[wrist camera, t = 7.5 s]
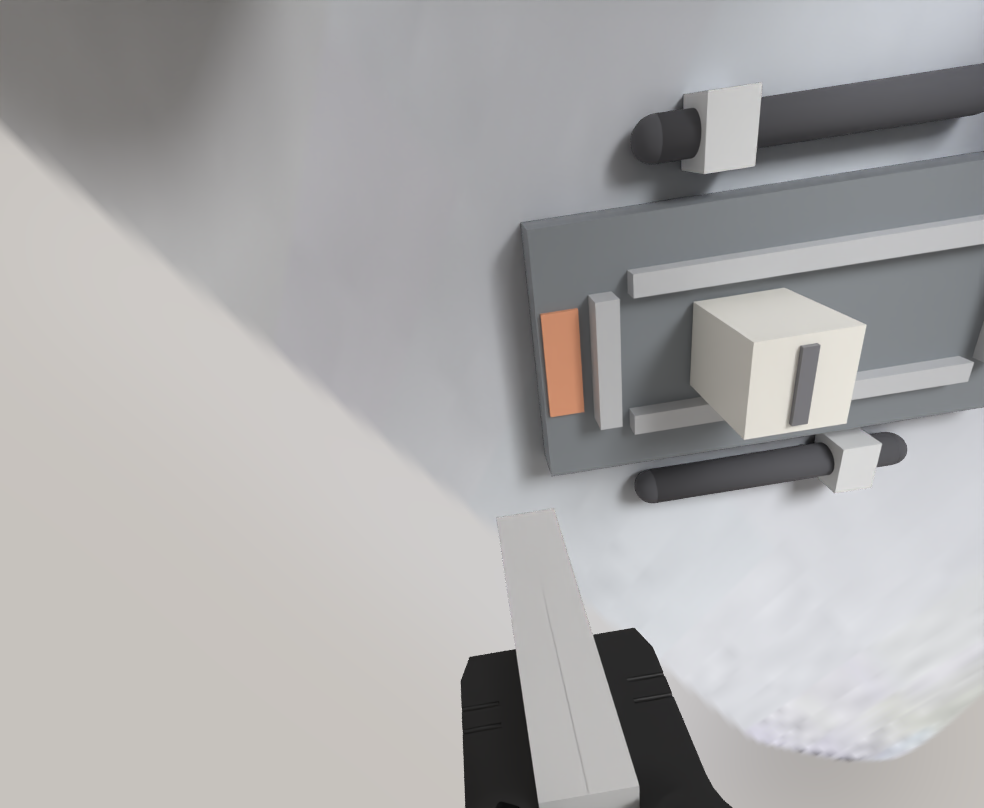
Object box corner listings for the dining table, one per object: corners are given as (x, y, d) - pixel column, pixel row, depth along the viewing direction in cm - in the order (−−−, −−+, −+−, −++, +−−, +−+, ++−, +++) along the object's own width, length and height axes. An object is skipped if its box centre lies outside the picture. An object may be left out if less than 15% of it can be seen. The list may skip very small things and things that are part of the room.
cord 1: (624, 103, 21) (642, 100, 19) (987, 48, 21) (1043, 39, 19) (625, 179, 22) (642, 183, 20) (968, 126, 22) (1018, 125, 21)
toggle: (693, 301, 23) (756, 344, 18) (784, 287, 23) (870, 326, 18) (689, 384, 25) (746, 442, 20) (774, 371, 25) (849, 425, 20)
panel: (520, 222, 23) (531, 235, 20) (1064, 138, 23) (1151, 139, 20) (544, 454, 28) (556, 490, 25) (983, 384, 29) (1042, 412, 26)
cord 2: (629, 458, 29) (643, 482, 27) (895, 416, 29) (928, 436, 27) (630, 499, 30) (643, 524, 28) (884, 458, 30) (915, 480, 28)
